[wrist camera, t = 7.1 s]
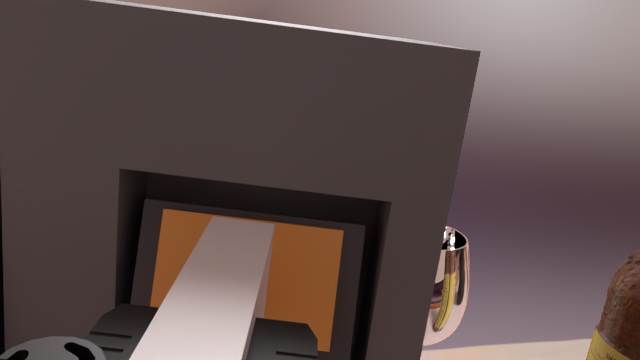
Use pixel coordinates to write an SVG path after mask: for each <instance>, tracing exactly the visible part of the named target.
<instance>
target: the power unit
mask: <svg viewBox="0 0 640 360" xmlns="http://www.w3.org/2000/svg"><path fill="white" fill-rule="evenodd" d="M479 57H480V51H475V50H470V49H464V48H459V47H452V46H448V45H442V44H437V43H431V42H426V41H419V40H410V39H404V38H396V37H388V36H381V35H373V34H365V33H358V32H350V31H342V30H335V29H326V28H319V27H312V26H304V25H296V24H289V23H281V22H274V21H266V20H259V19H251V18H243V17H236V16H228V15H220V14H213V13H205V12H197V11H190V10H182V9H174V8H167V7H159V6H152V5H144V4H136V3H129V2H121V1H114V0H0V177H1V203H2V245H3V288H4V330H5V352H6V351H7V350H9V349H10V348H12V347H14V346H17V345H19V344H22V343H25V342H27V341H30V340H34V339H40V338H45V337H51V336H61V337H76V338H80V339H85V337H86V336H87V335H88V334H90V331H91V329H92V328H93V327H94V325H95V324H96V323H97V322H98V320H99V319H100V318H101V316H102V315H104V314H105V313H107V312H109V311H111V310H112V309H114V308H116V307H118V306H119V305H121V304H123V303H125V304H130V302H131V295H132V288H133V280H134V273H135V266H136V259H137V251H138V244H139V237H140V230H141V222H142V215H143V208H144V201H145V199H161V200H170V201H178V202H187V203H195V204H203V205H211V206H219V207H228V208H236V209H244V210H252V211H260V212H269V213H277V214H285V215H293V216H301V217H310V218H318V219H326V220H334V221H342V222H351V223H359V224H362V225H365V226H366V227H365V236H364V244H363V253H362V261H361V270H360V278H359V287H358V295H357V304H356V312H355V321H354V329H353V338H352V346H351V355H350V360H420V356H421V351H422V346H423V341H424V336H425V331H426V326H427V321H428V316H429V311H430V306H431V301H432V295H433V290H434V285H435V280H436V275H437V270H438V265H439V260H440V255H441V250H442V245H443V240H444V235H445V229H446V224H447V219H448V214H449V209H450V204H451V199H452V193H453V189H454V184H455V179H456V174H457V168H458V163H459V158H460V153H461V148H462V143H463V138H464V133H465V127H466V122H467V117H468V113H469V107H470V102H471V97H472V92H473V87H474V82H475V77H476V72H477V67H478V61H479Z"/></svg>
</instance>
